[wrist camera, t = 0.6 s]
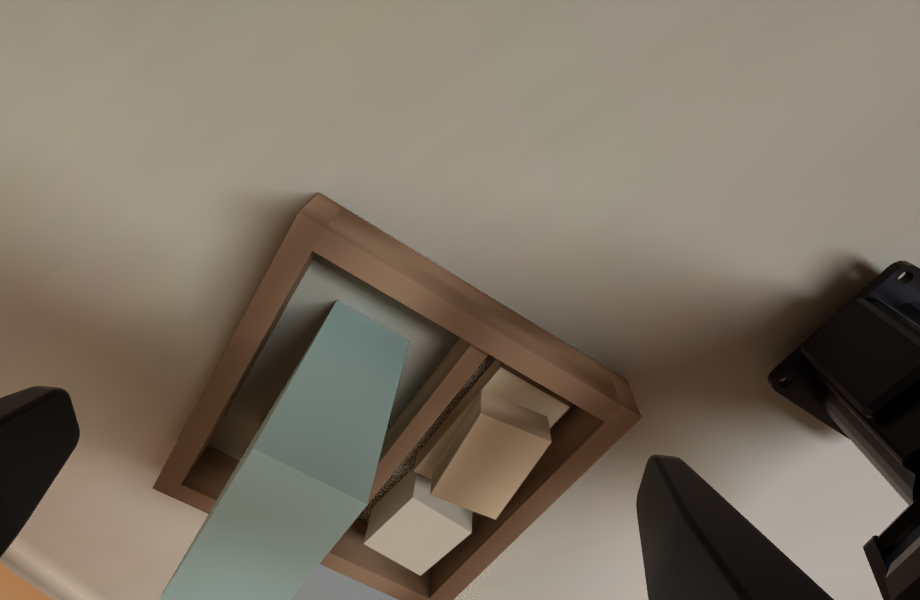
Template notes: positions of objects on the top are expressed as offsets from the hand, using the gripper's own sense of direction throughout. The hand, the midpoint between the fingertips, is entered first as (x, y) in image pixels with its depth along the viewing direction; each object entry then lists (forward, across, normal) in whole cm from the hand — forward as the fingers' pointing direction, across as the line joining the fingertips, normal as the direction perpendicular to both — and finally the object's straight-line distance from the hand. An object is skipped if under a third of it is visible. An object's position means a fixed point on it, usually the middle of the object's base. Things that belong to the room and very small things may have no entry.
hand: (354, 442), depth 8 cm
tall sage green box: (+13, +4, +9) cm, 17 cm away
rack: (+14, +2, +10) cm, 17 cm away
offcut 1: (+14, 0, +16) cm, 21 cm away
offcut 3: (+13, -3, +10) cm, 17 cm away
